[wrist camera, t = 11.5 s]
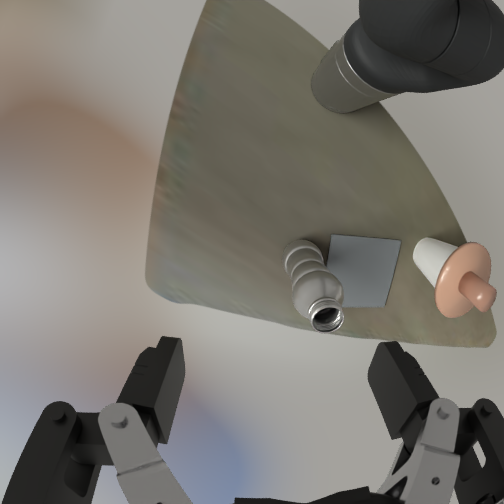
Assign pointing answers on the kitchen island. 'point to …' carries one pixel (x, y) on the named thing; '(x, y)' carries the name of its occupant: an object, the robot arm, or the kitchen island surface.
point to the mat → (363, 268)
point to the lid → (465, 281)
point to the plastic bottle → (314, 286)
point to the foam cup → (432, 257)
